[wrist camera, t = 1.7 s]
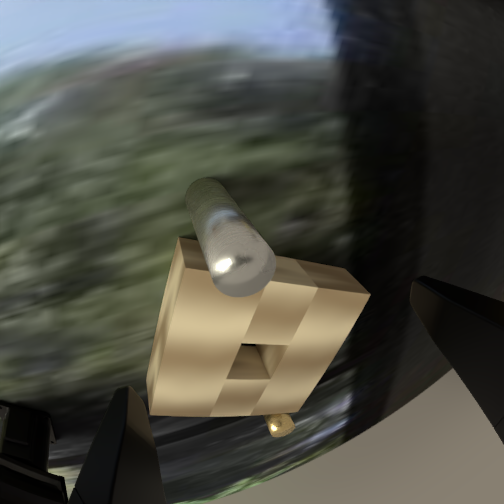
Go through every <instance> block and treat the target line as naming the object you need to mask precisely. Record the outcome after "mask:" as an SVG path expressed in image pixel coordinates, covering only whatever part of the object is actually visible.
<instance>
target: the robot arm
mask: <svg viewBox="0 0 504 504" xmlns="http://www.w3.org/2000/svg"><path fill="white" fill-rule="evenodd" d="M410 303H411V306H412V307H413V309H414V311H415V312H416V314H417V315H418V317H419V319H420V320H421V322H422V323H423V325H424V327H425V328H426V330H427V332H428V333H429V335H430V337H431V338H432V340H433V341H434V342H435V344H436V345H437V347H438V348H439V349H440V351H441V352H442V353H443V355H444V356H445V357H446V359H447V360H448V362H449V363H450V364H451V366H452V367H453V368H454V370H455V371H456V373H457V374H458V375H459V377H460V378H461V380H462V381H463V382H464V384H465V385H466V387H467V388H468V389H469V391H470V393H471V394H472V396H473V397H474V398H475V400H476V401H477V403H478V404H479V406H480V407H481V409H482V410H483V412H484V414H485V415H486V417H487V418H488V420H489V421H490V423H491V424H492V426H493V427H494V429H495V431H496V433H497V434H498V436H499V437H500V439H501V441H502V442H503V444H504V302H502V301H499V300H496V299H493V298H490V297H487V296H484V295H481V294H478V293H475V292H472V291H469V290H466V289H463V288H460V287H457V286H454V285H451V284H448V283H445V282H442V281H439V280H436V279H433V278H430V277H427V276H421V277H419V278H417V279H415V280H413V282H412V287H411V294H410ZM0 417H1V419H2V421H3V426H2V432H1V437H0V504H166V499H165V494H164V489H163V484H162V479H161V473H160V467H159V461H158V456H157V450H156V446H155V443H154V439H153V435H152V431H151V428H150V424H149V420H148V416H147V411H146V407H145V404H144V402H143V400H142V399H141V398H140V397H139V396H138V394H137V393H136V392H135V391H134V389H133V388H132V387H130V386H125V387H121V388H118V389H117V390H116V391H115V393H114V396H113V398H112V400H111V402H110V404H109V406H108V409H107V411H106V413H105V415H104V417H103V420H102V422H101V424H100V426H99V429H98V431H97V433H96V435H95V438H94V440H93V442H92V445H91V447H90V449H89V452H88V454H87V456H86V459H85V461H84V464H83V466H82V469H81V471H80V473H79V476H78V478H77V481H76V483H75V488H73V491H72V493H71V496H70V498H69V501H68V497H67V491H66V485H65V479H64V477H62V476H57V475H54V474H51V473H48V457H49V443H50V444H56V437H55V433H54V429H53V425H52V421H51V416H50V415H49V414H48V413H44V412H39V411H35V410H30V409H26V408H21V407H17V406H13V405H9V404H6V403H2V402H0Z"/></svg>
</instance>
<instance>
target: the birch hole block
mask: <svg viewBox="0 0 504 504" xmlns="http://www.w3.org/2000/svg"><path fill="white" fill-rule="evenodd" d="M275 258H276V269H275V273H274V275H273V277H272V279H271V281H270V282H269V283H268V284H267V285H266V286H265V287H264V288H263V289H262V290H260V291H259V292H257V293H255V294H253V295H250V296H247V297H231V296H227V295H225V294H223V293H222V292H220V291H219V290H218V289H217V288H216V287H215V285H214V283H213V280H212V278H211V275H210V272H209V269H208V266H207V264H206V261H205V258H204V255H203V252H202V249H201V246H200V244H199V241H197V240H191V239H186V238H181V237H178V241H177V245H176V248H175V252H174V256H173V260H172V264H171V268H170V272H169V276H168V280H167V284H166V288H165V293H164V297H163V301H162V305H161V310H160V314H159V319H158V323H157V328H156V333H155V337H154V342H153V347H152V352H151V357H150V362H149V367H148V372H147V378H146V382H147V392H148V402H149V411H150V415H159V416H187V417H222V416H250V415H267V414H280V413H291V412H298V410H299V409H300V408H301V406H302V405H303V403H304V402H305V400H306V399H307V398H308V396H309V395H310V393H311V392H312V390H313V389H314V387H315V386H316V384H317V383H318V381H319V380H320V378H321V377H322V375H323V374H324V372H325V371H326V369H327V368H328V366H329V364H330V363H331V361H332V360H333V358H334V357H335V355H336V353H337V352H338V350H339V349H340V347H341V345H342V344H343V342H344V340H345V339H346V337H347V335H348V334H349V332H350V330H351V329H352V327H353V325H354V323H355V322H356V320H357V318H358V317H359V315H360V313H361V311H362V310H363V308H364V306H365V304H366V302H367V301H368V299H369V297H370V295H371V294H370V293H369V292H368V291H367V290H366V289H365V288H364V287H363V286H362V285H361V284H360V283H359V282H358V281H357V280H356V279H355V278H354V277H353V276H352V275H351V274H350V273H349V272H348V271H347V270H346V269H345V268H340V267H335V266H329V265H324V264H319V263H313V262H308V261H303V260H297V259H292V258H287V257H282V256H276V255H275ZM241 343H248V344H256V346H241Z"/></svg>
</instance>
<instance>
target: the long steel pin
mask: <svg viewBox="0 0 504 504" xmlns="http://www.w3.org/2000/svg"><path fill="white" fill-rule="evenodd" d="M185 201H186V205H187V208H188V211H189V214H190V217H191V220H192V223H193V226H194V229H195V232H196V235H197V238H198V241H199V244H200V246H201V249H202V252H203V255H204V258H205V261H206V264H207V266H208V269H209V272H210V275H211V278H212V280H213V283H214V285H215V287H216V288H217V289H218V290H219V291H220V292H222V293H223V294H225V295H227V296H231V297H247V296H250V295H253V294H255V293H257V292H259V291H260V290H262V289H263V288H264V287H265V286H266V285H267V284H268V283H269V282H270V281H271V279H272V277H273V275H274V273H275V269H276V258H275V255H274V253H273V251H272V249H271V248H270V247H269V245H268V244H267V243H266V242H265V240H264V239H263V238H262V236H261V235H260V234H259V232H258V231H257V230H256V228H255V227H254V226H253V224H252V223H251V222H250V221H249V219H248V218H247V217H246V215H245V214H244V213H243V211H242V210H241V209H240V208H239V206H238V205H237V204H236V202H235V201H234V200H233V198H232V197H231V196H230V195H229V193H228V192H227V191H226V189H225V188H224V187H223V186H222V184H221V183H220V182H219V181H217V180H215V179H212V178H201V179H198V180H196V181H195V182H193V183H192V184H191V185H190V186H189V188H188V190H187V192H186V196H185Z"/></svg>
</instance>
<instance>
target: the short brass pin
mask: <svg viewBox="0 0 504 504" xmlns="http://www.w3.org/2000/svg"><path fill="white" fill-rule="evenodd" d="M263 416H264V418H265V421H266V423H267V425H268V428H269V430H270V432H271V435H272V436H273V437H281V436H284V435H287V434H289V433H290V432H292V431H293V430H294V428H295V425H294V423H293V421H292V419H291V417H290V415H289V413H280V414H267V415H263Z"/></svg>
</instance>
